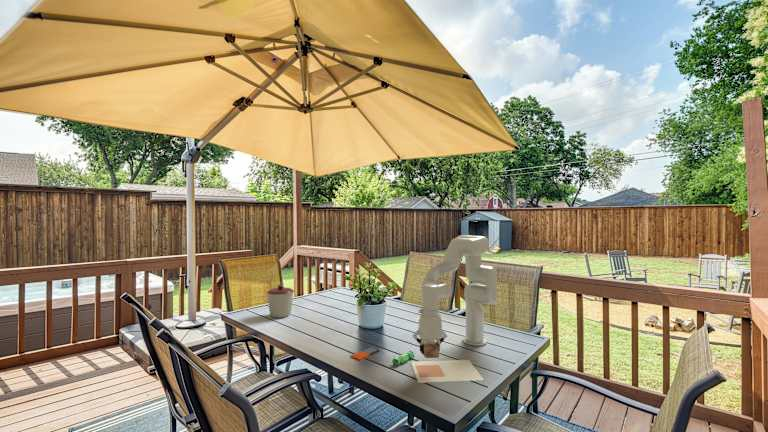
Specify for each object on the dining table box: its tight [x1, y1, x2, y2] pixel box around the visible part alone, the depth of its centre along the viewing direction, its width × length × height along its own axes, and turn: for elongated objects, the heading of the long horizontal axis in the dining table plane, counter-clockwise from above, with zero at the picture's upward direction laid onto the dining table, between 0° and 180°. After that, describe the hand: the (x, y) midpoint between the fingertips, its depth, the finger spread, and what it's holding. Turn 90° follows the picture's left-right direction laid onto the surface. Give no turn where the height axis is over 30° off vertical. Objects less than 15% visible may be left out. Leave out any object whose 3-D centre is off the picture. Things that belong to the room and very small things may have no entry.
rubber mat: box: [410, 359, 485, 384], centre depth 155 cm, size 20×28×1 cm
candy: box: [391, 350, 415, 366], centre depth 165 cm, size 12×3×4 cm
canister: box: [265, 284, 295, 319], centre depth 235 cm, size 18×18×21 cm
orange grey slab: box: [350, 346, 380, 361], centre depth 173 cm, size 6×1×15 cm
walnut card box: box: [422, 340, 440, 359], centre depth 154 cm, size 6×9×4 cm, turn 5°
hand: (429, 352), depth 154 cm, fingers closed on walnut card box, 6 cm apart
